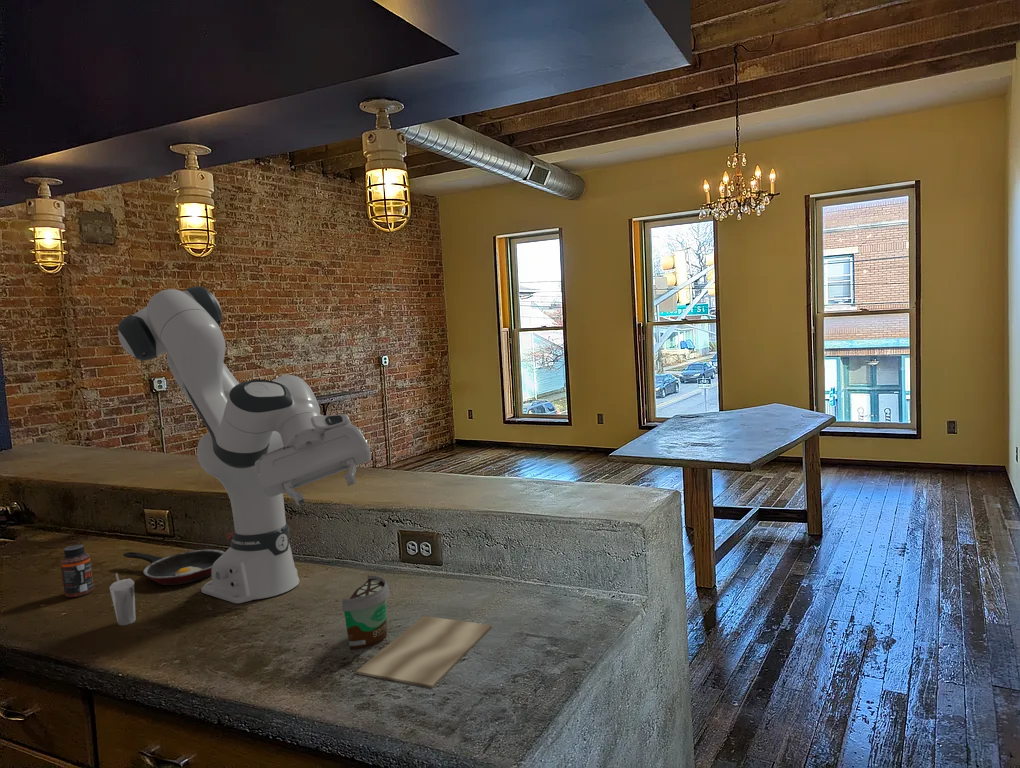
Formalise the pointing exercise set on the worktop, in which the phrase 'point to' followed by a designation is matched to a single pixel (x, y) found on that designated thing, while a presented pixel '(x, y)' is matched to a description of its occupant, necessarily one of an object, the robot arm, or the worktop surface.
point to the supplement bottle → (76, 572)
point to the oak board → (425, 651)
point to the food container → (367, 614)
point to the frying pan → (179, 566)
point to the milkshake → (123, 600)
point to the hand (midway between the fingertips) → (326, 492)
